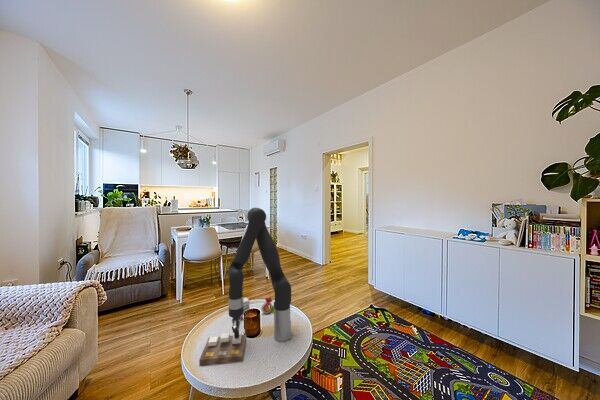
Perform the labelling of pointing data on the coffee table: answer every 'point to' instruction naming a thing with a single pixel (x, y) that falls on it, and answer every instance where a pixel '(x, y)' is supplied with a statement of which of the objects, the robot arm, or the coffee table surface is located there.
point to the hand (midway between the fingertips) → (236, 337)
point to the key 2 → (236, 340)
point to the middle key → (225, 337)
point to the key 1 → (213, 341)
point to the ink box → (245, 306)
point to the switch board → (223, 352)
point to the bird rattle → (265, 306)
